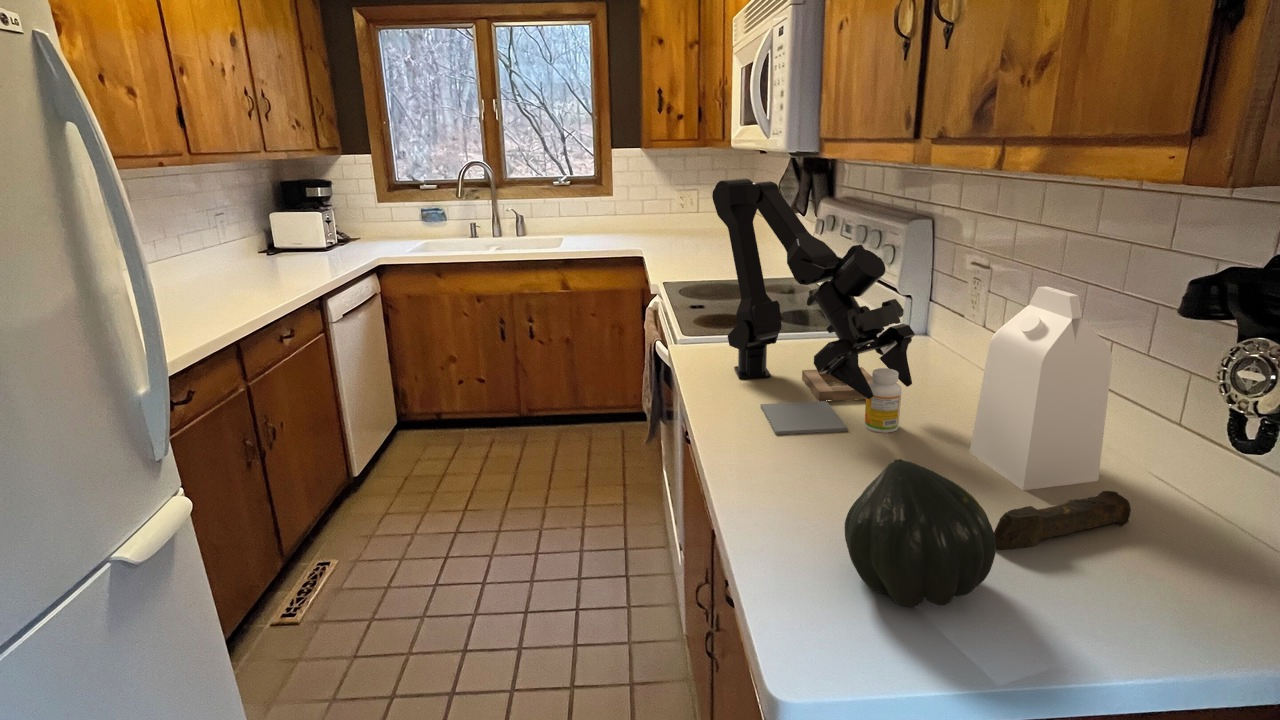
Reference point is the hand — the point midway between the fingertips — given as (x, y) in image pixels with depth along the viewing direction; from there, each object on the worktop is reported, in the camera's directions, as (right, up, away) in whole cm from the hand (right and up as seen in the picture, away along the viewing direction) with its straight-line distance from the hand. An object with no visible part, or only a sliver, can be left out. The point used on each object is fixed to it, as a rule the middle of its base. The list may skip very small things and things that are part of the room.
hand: (890, 391), depth 113 cm
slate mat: (-13, -5, +8) cm, 16 cm away
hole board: (-2, 0, +20) cm, 20 cm away
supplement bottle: (0, -6, +3) cm, 7 cm away
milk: (+16, -11, -11) cm, 22 cm away
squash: (-11, -20, -36) cm, 42 cm away
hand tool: (+10, -17, -28) cm, 34 cm away
